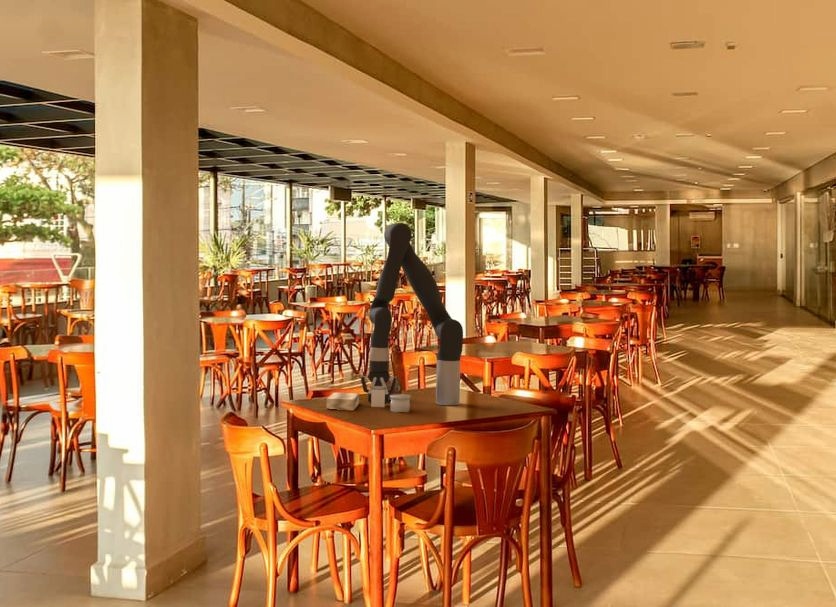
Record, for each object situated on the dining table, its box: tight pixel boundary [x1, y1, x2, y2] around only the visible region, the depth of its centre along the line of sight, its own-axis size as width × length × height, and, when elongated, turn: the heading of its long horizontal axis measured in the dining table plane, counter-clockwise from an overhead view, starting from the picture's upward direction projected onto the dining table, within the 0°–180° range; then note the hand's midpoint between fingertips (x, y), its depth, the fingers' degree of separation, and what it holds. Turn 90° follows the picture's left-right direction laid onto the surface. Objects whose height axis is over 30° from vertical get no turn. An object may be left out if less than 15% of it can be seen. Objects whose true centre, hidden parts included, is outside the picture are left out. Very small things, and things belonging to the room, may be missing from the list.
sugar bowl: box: [390, 393, 411, 413], centre depth 345 cm, size 8×8×6 cm
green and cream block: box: [370, 386, 387, 408], centre depth 356 cm, size 5×5×7 cm
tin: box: [377, 378, 403, 400], centre depth 371 cm, size 15×3×8 cm, turn 143°
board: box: [326, 392, 360, 411], centre depth 353 cm, size 10×16×4 cm, turn 177°
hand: (378, 403), depth 356 cm, fingers closed on green and cream block, 5 cm apart
